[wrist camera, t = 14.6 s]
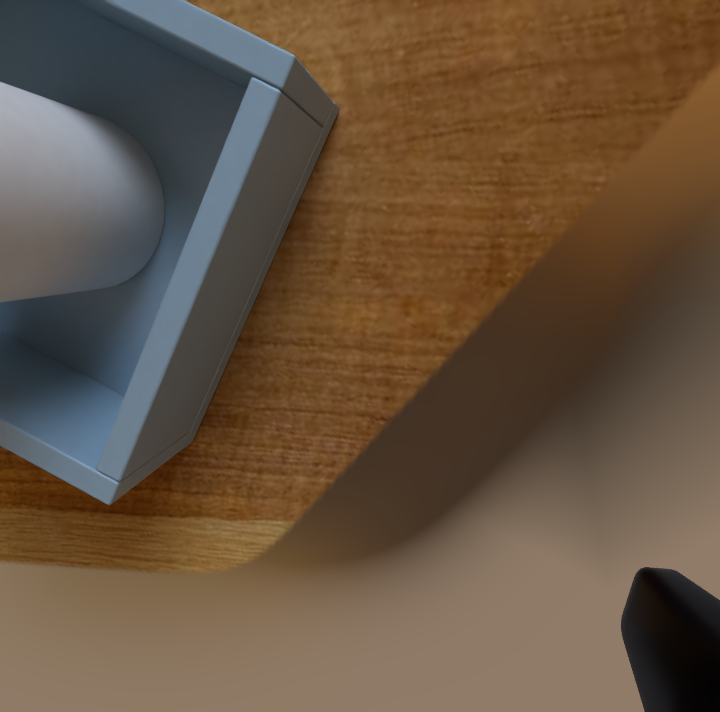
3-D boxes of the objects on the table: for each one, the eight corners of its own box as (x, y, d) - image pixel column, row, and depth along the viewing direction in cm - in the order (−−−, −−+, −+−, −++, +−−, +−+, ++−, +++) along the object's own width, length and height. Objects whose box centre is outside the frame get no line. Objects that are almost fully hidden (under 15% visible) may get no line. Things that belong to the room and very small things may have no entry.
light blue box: (340, 108, 18) (296, 54, 13) (192, 442, 21) (109, 507, 16) (-4, -63, 19) (-178, -180, 13) (-99, 285, 22) (-270, 299, 16)
